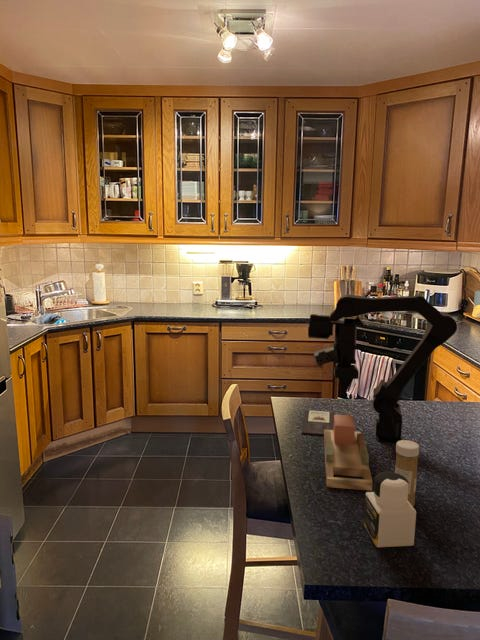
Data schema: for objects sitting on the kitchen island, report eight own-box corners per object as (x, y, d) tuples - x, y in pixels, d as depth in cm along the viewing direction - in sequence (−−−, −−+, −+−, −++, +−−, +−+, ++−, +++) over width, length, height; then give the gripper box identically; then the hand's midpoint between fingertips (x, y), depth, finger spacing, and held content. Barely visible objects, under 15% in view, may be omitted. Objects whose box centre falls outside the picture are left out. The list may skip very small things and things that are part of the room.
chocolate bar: (301, 432, 136) (305, 410, 154) (301, 435, 136) (305, 412, 154) (333, 435, 134) (333, 412, 152) (333, 438, 135) (333, 415, 152)
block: (351, 432, 133) (352, 415, 132) (354, 444, 125) (354, 426, 124) (333, 431, 133) (334, 414, 132) (334, 443, 125) (335, 425, 125)
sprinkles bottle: (419, 504, 101) (424, 445, 98) (405, 511, 98) (410, 450, 96) (401, 495, 105) (405, 437, 102) (387, 501, 102) (391, 442, 100)
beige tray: (360, 438, 134) (360, 425, 133) (372, 490, 106) (373, 474, 106) (323, 436, 135) (324, 422, 134) (326, 486, 108) (327, 470, 107)
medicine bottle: (363, 524, 94) (366, 468, 92) (398, 523, 94) (402, 466, 92) (376, 548, 87) (380, 487, 85) (414, 546, 87) (419, 486, 85)
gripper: (316, 332, 143) (314, 382, 146) (316, 346, 125) (314, 403, 128) (354, 333, 141) (351, 384, 144) (360, 348, 123) (357, 405, 126)
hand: (343, 393), depth 136 cm, fingers closed
